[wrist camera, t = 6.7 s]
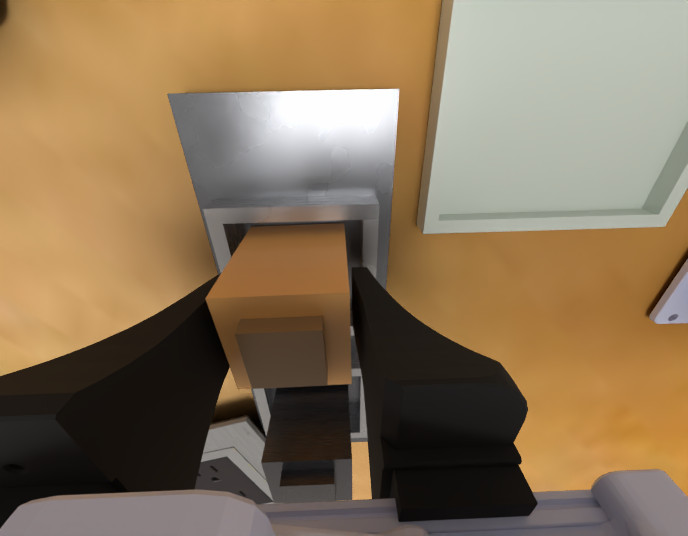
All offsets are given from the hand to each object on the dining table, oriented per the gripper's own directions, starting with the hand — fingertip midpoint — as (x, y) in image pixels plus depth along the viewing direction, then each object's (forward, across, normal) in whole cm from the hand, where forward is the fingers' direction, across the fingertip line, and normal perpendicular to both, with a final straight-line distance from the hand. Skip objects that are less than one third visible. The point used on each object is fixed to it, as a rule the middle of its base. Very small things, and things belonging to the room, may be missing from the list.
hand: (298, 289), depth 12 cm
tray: (+3, -11, -6) cm, 13 cm away
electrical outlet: (+3, +8, +19) cm, 20 cm away
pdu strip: (+3, 0, +4) cm, 5 cm away
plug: (+2, 0, 0) cm, 2 cm away
